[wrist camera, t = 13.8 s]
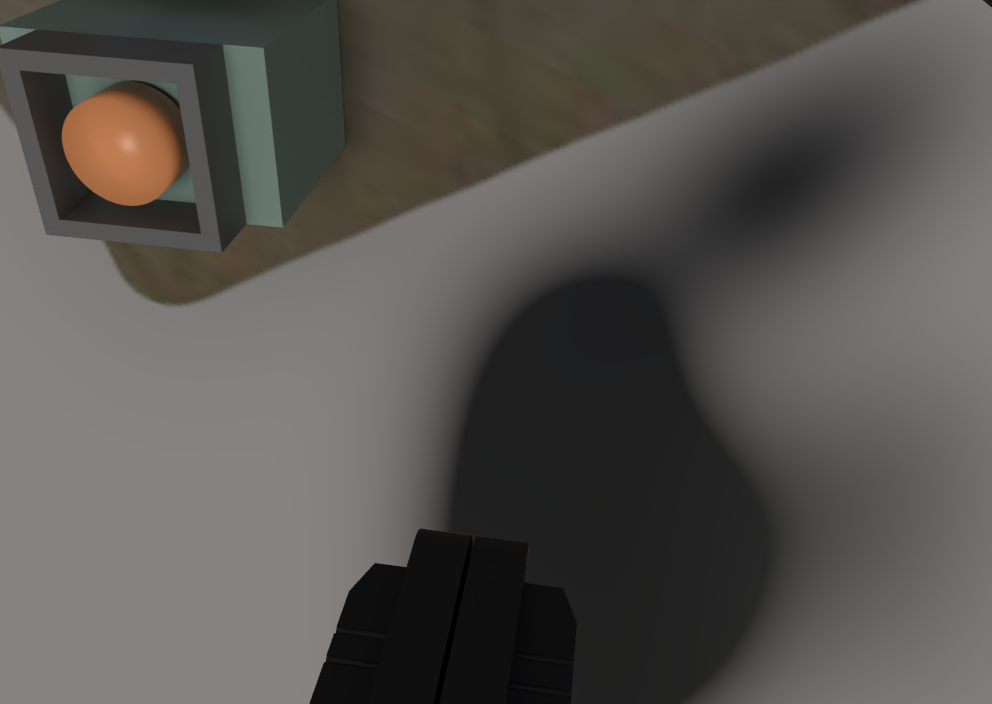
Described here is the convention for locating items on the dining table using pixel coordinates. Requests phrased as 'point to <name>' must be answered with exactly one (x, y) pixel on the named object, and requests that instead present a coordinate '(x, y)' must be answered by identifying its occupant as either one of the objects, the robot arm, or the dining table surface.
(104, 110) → the button
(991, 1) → the travel mug
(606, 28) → the dining table surface
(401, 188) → the dining table surface
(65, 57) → the cabinet
